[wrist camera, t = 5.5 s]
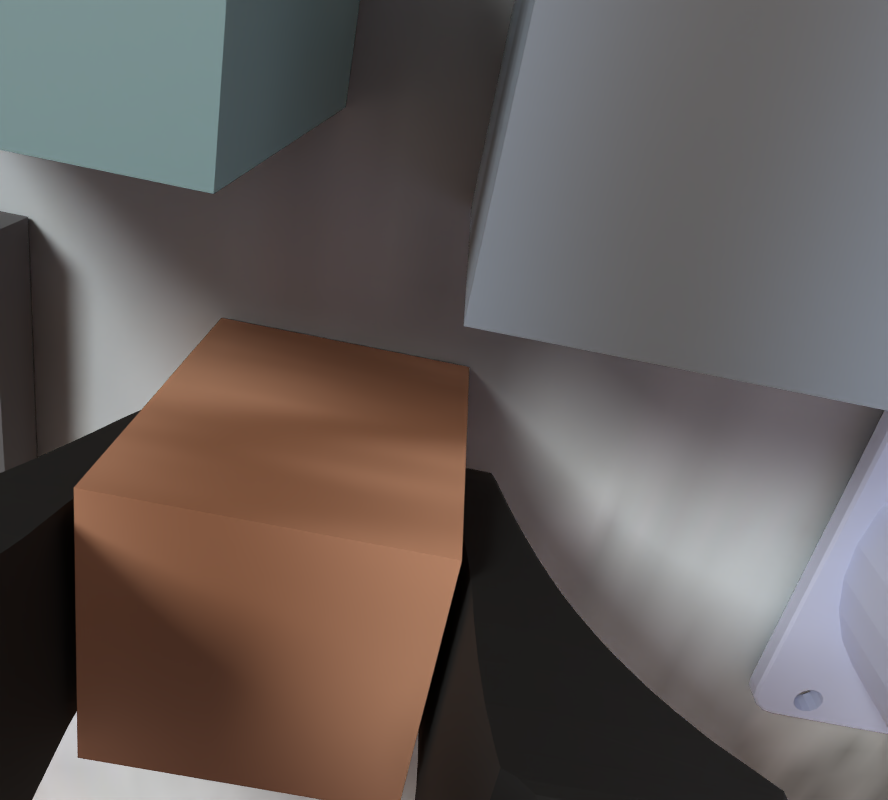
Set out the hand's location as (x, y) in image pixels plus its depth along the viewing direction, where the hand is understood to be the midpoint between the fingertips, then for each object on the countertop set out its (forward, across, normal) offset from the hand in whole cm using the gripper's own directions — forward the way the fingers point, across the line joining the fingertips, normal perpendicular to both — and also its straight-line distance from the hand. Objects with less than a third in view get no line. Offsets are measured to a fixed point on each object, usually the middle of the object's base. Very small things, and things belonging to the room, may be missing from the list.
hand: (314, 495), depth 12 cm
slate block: (+2, -4, -6) cm, 8 cm away
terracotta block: (+1, 0, 0) cm, 1 cm away
